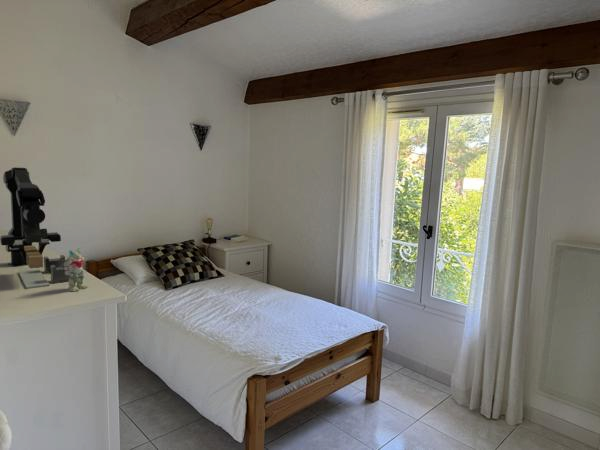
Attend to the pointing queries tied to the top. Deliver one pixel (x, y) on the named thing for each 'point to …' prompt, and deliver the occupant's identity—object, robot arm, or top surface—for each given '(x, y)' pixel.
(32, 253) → the rail
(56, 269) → the rack
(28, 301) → the top surface
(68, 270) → the figurine
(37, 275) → the pad
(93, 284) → the top surface
